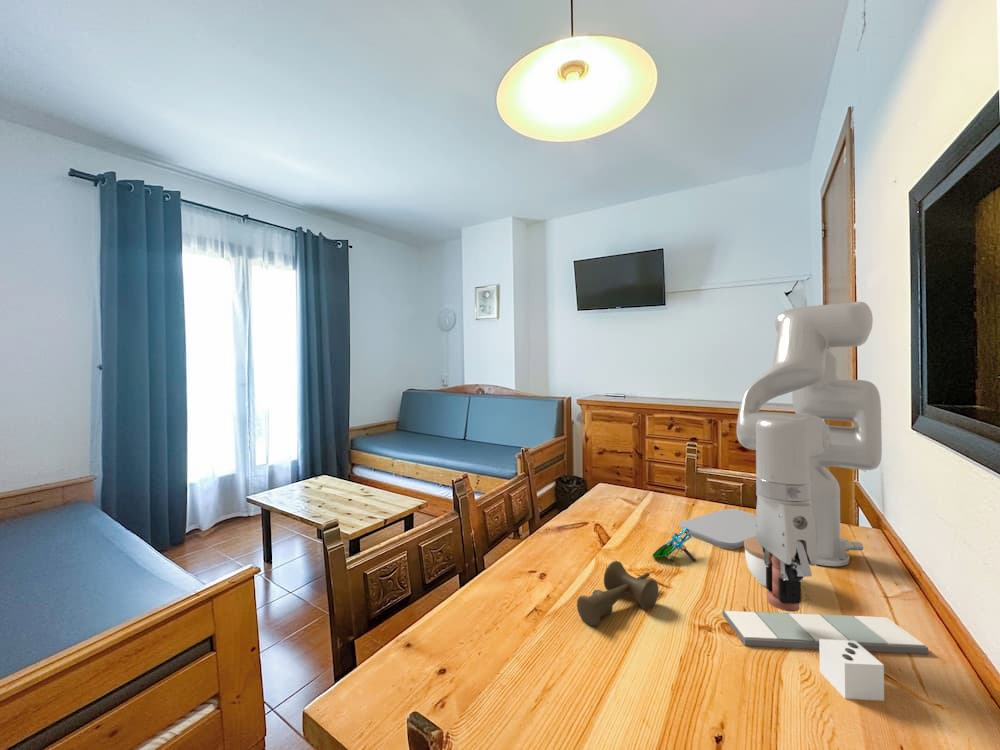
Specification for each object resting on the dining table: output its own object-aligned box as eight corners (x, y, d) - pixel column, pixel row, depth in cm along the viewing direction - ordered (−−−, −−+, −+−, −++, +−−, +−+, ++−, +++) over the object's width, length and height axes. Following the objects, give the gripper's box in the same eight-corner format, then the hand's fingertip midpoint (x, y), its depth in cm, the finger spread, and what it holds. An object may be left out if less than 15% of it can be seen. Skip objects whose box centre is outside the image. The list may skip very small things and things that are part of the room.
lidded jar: (744, 566, 92) (743, 525, 92) (802, 578, 87) (801, 535, 87) (744, 588, 83) (744, 543, 83) (809, 603, 78) (809, 555, 78)
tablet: (674, 531, 114) (674, 523, 114) (731, 514, 126) (731, 507, 126) (730, 554, 99) (730, 545, 99) (788, 532, 111) (788, 524, 111)
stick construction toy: (679, 537, 104) (688, 520, 99) (701, 560, 99) (712, 544, 94) (645, 559, 99) (653, 543, 94) (666, 585, 94) (676, 569, 89)
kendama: (566, 615, 76) (629, 577, 88) (607, 643, 69) (670, 598, 81) (565, 584, 76) (629, 551, 88) (606, 609, 68) (670, 569, 80)
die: (855, 673, 60) (855, 639, 60) (884, 701, 55) (883, 664, 55) (819, 672, 60) (819, 638, 60) (845, 699, 55) (844, 662, 55)
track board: (884, 622, 71) (884, 615, 71) (928, 654, 63) (928, 646, 63) (723, 615, 74) (722, 609, 74) (745, 645, 66) (744, 638, 66)
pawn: (788, 596, 71) (788, 546, 71) (806, 612, 67) (805, 558, 67) (761, 595, 72) (761, 546, 72) (776, 610, 67) (776, 557, 67)
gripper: (841, 505, 61) (841, 627, 61) (777, 477, 77) (778, 573, 77) (788, 504, 61) (789, 624, 61) (735, 477, 78) (736, 571, 78)
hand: (782, 595), depth 69 cm, fingers closed on pawn, 3 cm apart
